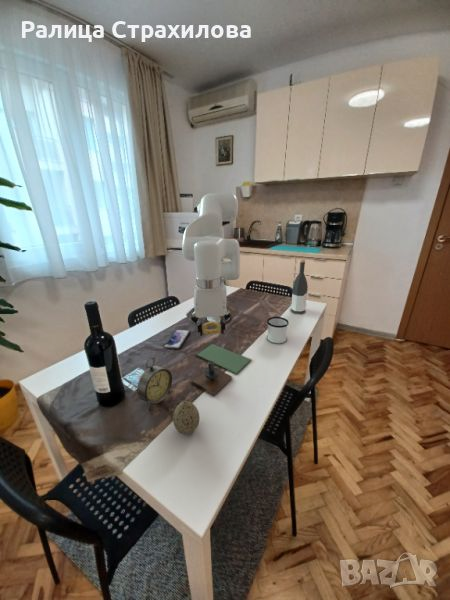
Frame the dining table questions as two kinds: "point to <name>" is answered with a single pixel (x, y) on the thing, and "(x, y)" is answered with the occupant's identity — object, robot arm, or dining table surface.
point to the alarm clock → (154, 384)
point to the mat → (224, 358)
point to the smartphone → (177, 339)
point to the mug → (277, 329)
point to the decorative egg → (186, 417)
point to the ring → (212, 331)
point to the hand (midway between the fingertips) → (211, 332)
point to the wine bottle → (299, 291)
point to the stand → (212, 379)
